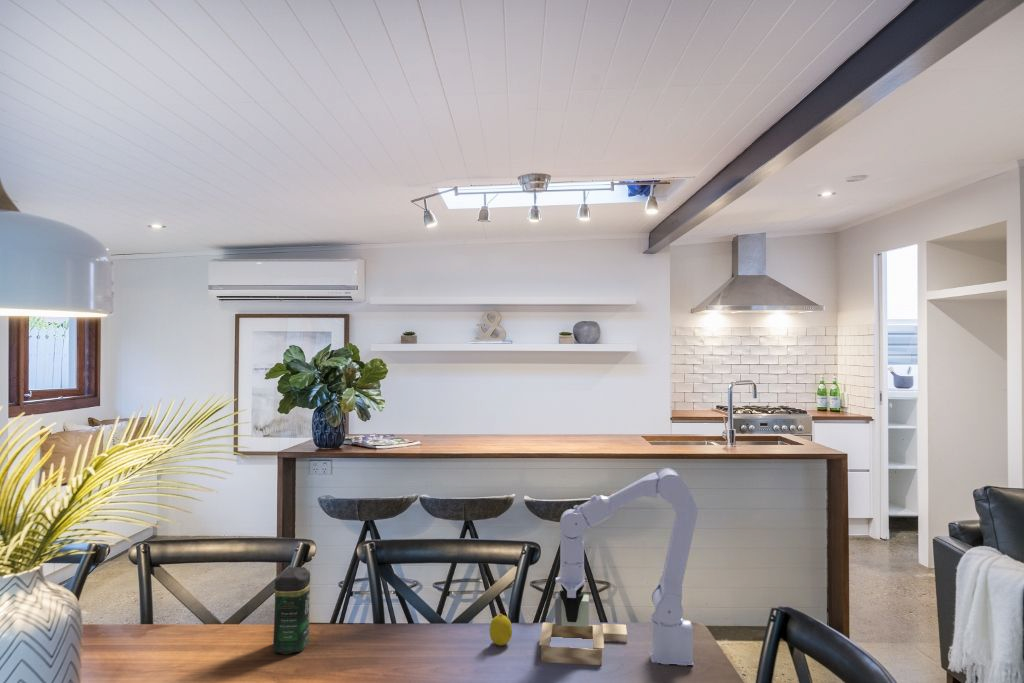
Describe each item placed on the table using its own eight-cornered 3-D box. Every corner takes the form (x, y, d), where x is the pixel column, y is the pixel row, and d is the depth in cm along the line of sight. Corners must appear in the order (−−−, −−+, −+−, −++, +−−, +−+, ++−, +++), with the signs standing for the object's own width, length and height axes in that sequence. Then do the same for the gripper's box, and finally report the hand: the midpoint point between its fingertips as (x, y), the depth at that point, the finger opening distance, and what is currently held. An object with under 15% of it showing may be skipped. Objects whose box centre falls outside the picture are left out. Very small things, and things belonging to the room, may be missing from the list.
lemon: (502, 654, 158) (502, 620, 158) (484, 647, 161) (485, 614, 161) (516, 646, 162) (516, 613, 162) (498, 640, 165) (499, 608, 166)
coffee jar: (303, 655, 157) (304, 576, 157) (269, 655, 156) (270, 577, 157) (313, 637, 166) (313, 563, 167) (281, 638, 166) (281, 564, 166)
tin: (588, 619, 160) (588, 594, 161) (588, 627, 156) (588, 601, 156) (556, 617, 161) (556, 593, 161) (555, 625, 157) (555, 600, 157)
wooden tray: (602, 641, 165) (602, 624, 165) (604, 667, 151) (604, 649, 151) (543, 638, 166) (543, 621, 166) (538, 664, 152) (538, 645, 152)
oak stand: (625, 634, 169) (625, 624, 169) (627, 644, 163) (627, 634, 163) (602, 633, 170) (602, 623, 170) (602, 643, 164) (602, 633, 164)
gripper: (556, 551, 167) (557, 605, 166) (554, 569, 152) (554, 628, 152) (584, 552, 166) (585, 606, 166) (584, 570, 151) (584, 630, 151)
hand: (572, 617), depth 159 cm, fingers closed on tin, 4 cm apart
